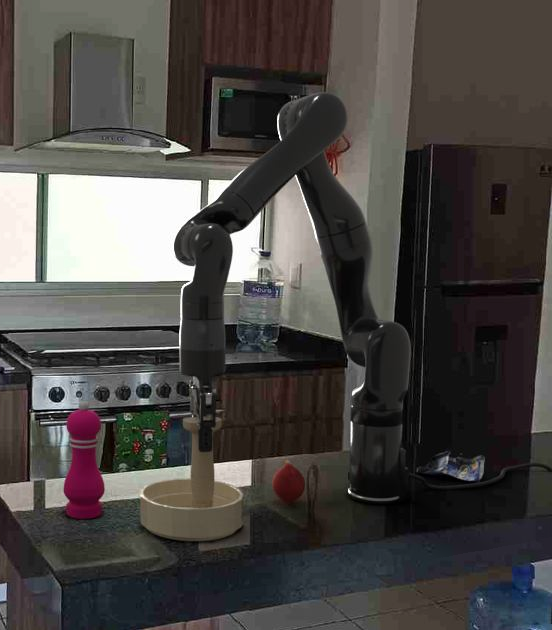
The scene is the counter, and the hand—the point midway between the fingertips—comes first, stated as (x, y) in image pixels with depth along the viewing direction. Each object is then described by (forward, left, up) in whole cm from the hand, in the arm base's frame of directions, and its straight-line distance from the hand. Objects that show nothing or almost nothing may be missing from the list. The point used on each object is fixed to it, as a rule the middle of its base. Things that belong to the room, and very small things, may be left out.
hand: (202, 446), depth 137 cm
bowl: (+2, -1, -14) cm, 14 cm away
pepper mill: (+20, -8, -14) cm, 25 cm away
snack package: (-54, -27, -14) cm, 62 cm away
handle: (0, 0, -11) cm, 11 cm away
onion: (-17, -11, -14) cm, 25 cm away
